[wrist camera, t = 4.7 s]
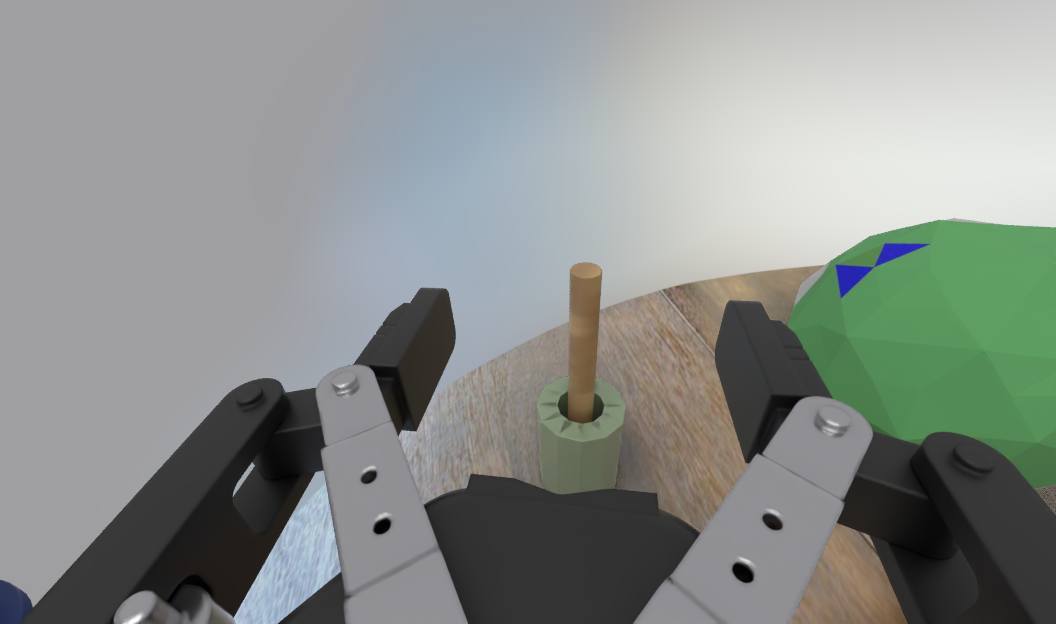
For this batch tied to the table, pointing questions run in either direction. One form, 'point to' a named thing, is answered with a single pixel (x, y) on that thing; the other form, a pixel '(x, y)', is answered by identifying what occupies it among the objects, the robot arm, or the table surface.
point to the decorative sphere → (943, 335)
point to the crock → (579, 440)
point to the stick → (583, 339)
